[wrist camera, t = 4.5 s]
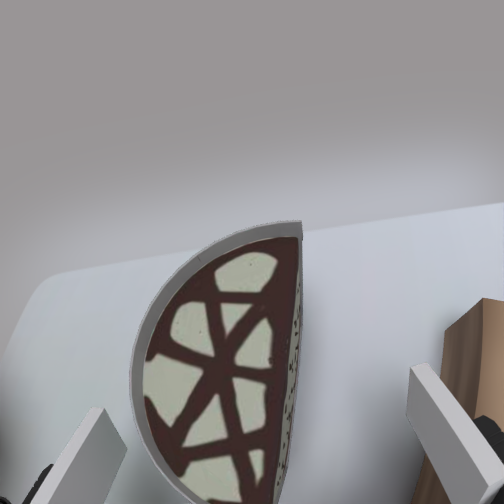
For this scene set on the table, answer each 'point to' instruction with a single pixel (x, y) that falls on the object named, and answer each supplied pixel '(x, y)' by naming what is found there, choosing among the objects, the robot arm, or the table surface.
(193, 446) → the food container
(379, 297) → the table surface
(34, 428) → the table surface
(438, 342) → the table surface
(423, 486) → the square wooden plinth
